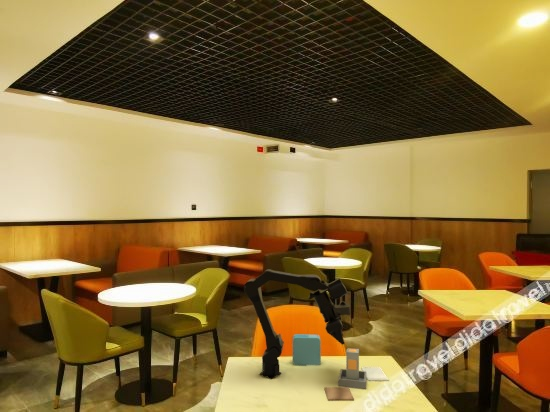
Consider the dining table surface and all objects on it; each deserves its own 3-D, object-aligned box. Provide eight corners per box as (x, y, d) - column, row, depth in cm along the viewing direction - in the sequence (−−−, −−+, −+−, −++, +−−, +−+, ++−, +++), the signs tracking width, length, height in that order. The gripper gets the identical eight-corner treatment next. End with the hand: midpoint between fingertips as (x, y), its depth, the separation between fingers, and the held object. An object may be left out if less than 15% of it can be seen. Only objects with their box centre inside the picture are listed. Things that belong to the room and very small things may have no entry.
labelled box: (346, 384, 147) (346, 351, 148) (347, 379, 152) (347, 347, 152) (358, 385, 146) (358, 353, 147) (358, 380, 151) (358, 348, 151)
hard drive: (361, 366, 163) (368, 379, 150) (380, 366, 163) (389, 379, 150) (361, 370, 162) (368, 383, 150) (380, 370, 163) (389, 383, 150)
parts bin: (338, 387, 146) (338, 379, 146) (340, 376, 155) (340, 368, 155) (365, 390, 143) (365, 382, 143) (366, 379, 153) (366, 371, 153)
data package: (320, 362, 171) (320, 334, 171) (320, 366, 166) (320, 337, 166) (292, 361, 171) (292, 334, 172) (292, 365, 167) (292, 337, 167)
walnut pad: (328, 401, 134) (327, 398, 134) (324, 390, 143) (324, 387, 143) (353, 401, 134) (353, 398, 134) (348, 389, 143) (348, 387, 143)
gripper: (344, 300, 145) (363, 339, 144) (342, 291, 164) (359, 325, 162) (317, 313, 146) (336, 351, 145) (318, 302, 165) (335, 336, 164)
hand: (342, 340), depth 154 cm, fingers open, 9 cm apart
